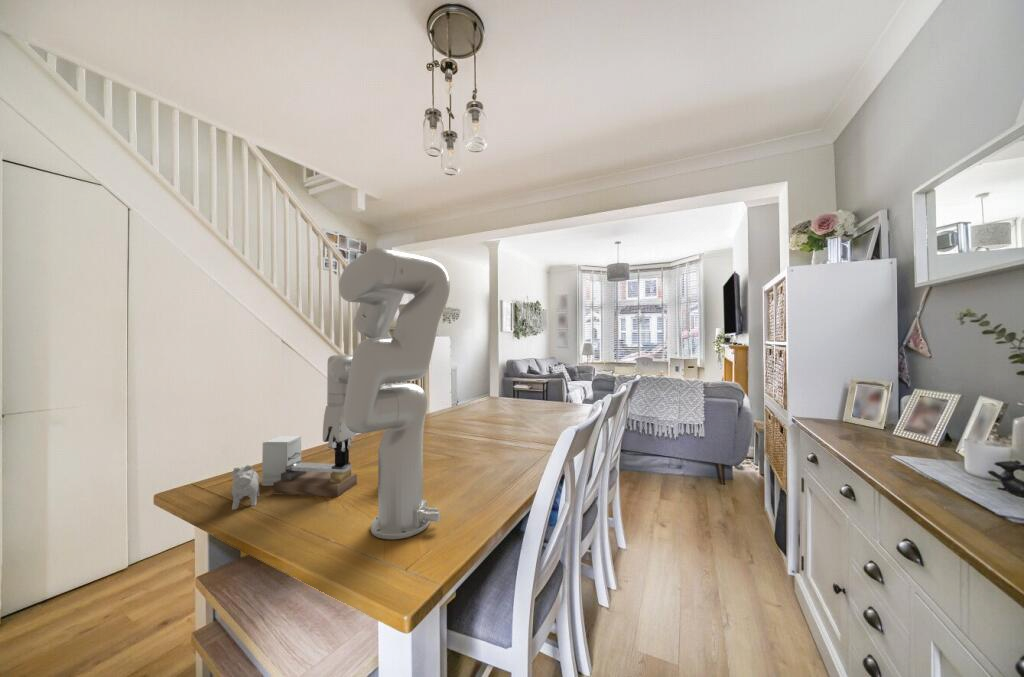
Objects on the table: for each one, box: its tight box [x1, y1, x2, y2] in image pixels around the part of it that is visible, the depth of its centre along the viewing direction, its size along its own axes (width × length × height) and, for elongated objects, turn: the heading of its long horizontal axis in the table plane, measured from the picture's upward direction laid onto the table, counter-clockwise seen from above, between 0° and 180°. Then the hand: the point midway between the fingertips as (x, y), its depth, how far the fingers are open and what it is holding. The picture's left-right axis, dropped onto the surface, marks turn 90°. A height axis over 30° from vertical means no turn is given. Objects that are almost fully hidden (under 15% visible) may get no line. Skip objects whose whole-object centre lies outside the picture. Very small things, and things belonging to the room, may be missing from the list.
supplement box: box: [261, 435, 302, 487], centre depth 107 cm, size 7×7×13 cm
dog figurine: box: [230, 464, 260, 511], centre depth 91 cm, size 5×13×11 cm, turn 31°
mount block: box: [272, 468, 358, 498], centre depth 101 cm, size 19×9×5 cm, turn 83°
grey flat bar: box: [285, 460, 353, 473], centre depth 101 cm, size 17×5×2 cm, turn 83°
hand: (341, 464), depth 100 cm, fingers closed
